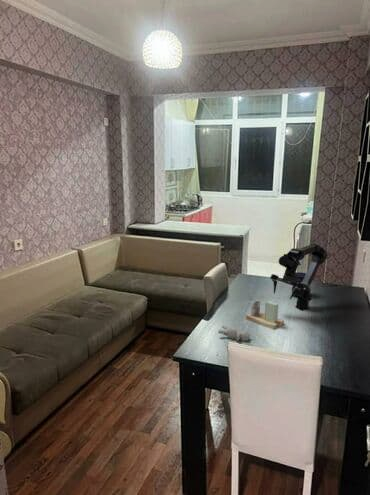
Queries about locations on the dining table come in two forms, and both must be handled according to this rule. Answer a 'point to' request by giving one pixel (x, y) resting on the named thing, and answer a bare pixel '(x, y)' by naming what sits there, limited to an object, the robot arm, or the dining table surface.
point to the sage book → (271, 311)
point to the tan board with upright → (261, 316)
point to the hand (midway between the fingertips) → (282, 296)
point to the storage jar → (300, 279)
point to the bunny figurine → (235, 333)
